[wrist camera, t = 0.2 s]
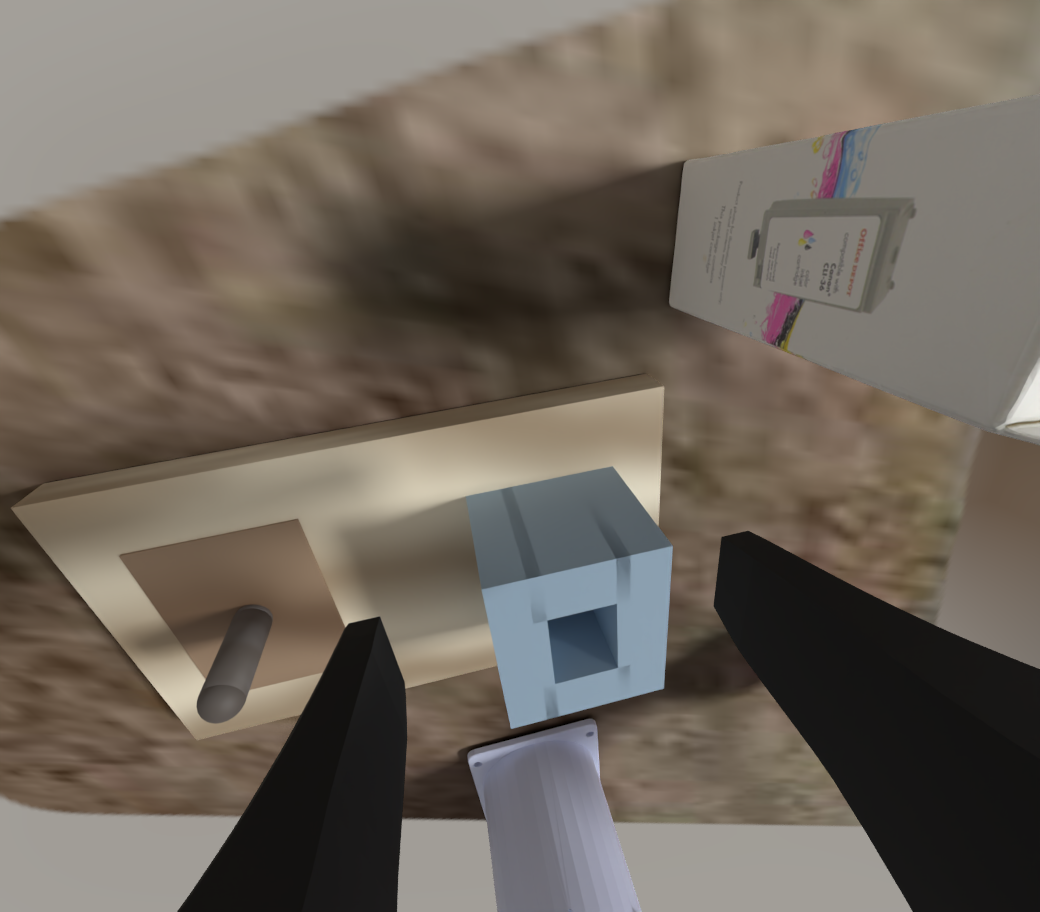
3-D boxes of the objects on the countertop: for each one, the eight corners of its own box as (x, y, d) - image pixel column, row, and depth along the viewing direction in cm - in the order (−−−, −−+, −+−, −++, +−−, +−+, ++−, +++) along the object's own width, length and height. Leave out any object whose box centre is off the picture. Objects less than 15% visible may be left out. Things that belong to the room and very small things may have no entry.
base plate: (642, 604, 25) (699, 706, 20) (209, 709, 22) (149, 856, 17) (646, 373, 19) (733, 436, 13) (43, 483, 16) (-129, 611, 11)
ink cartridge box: (904, 148, 16) (2582, -43, 4) (858, 296, 19) (1784, 487, 6) (678, 151, 15) (2098, -136, 2) (660, 309, 17) (1314, 590, 5)
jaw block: (615, 593, 22) (663, 688, 18) (491, 622, 21) (511, 729, 17) (612, 466, 18) (672, 545, 14) (465, 496, 18) (481, 589, 13)
